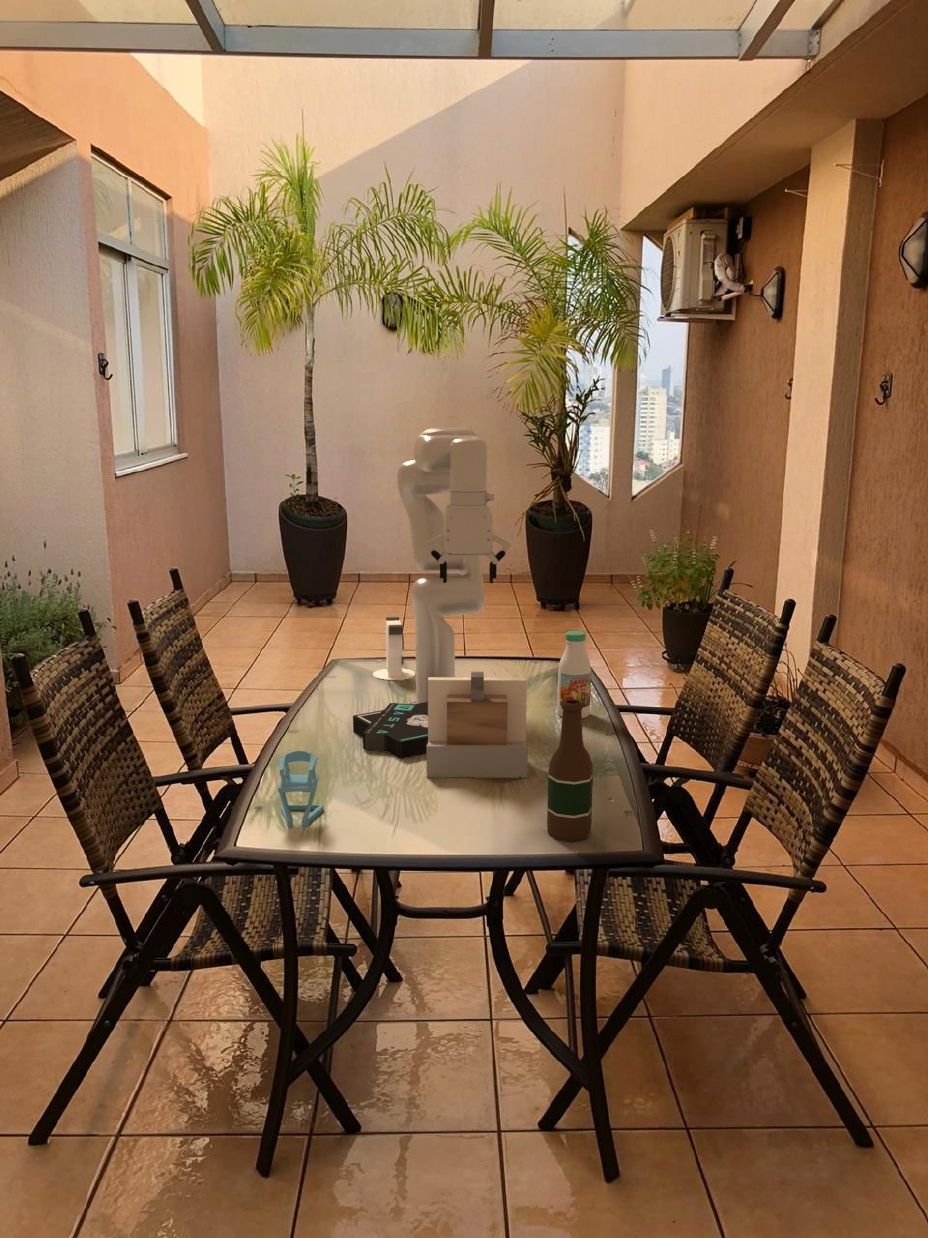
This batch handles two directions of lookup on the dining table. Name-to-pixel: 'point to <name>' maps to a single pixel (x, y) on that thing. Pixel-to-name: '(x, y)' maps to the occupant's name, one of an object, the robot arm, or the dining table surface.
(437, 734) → the wall board
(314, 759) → the chair
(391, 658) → the white peg on disc
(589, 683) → the milk bottle
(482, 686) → the walnut cabinet
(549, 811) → the beer bottle
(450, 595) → the robot arm
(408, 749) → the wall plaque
